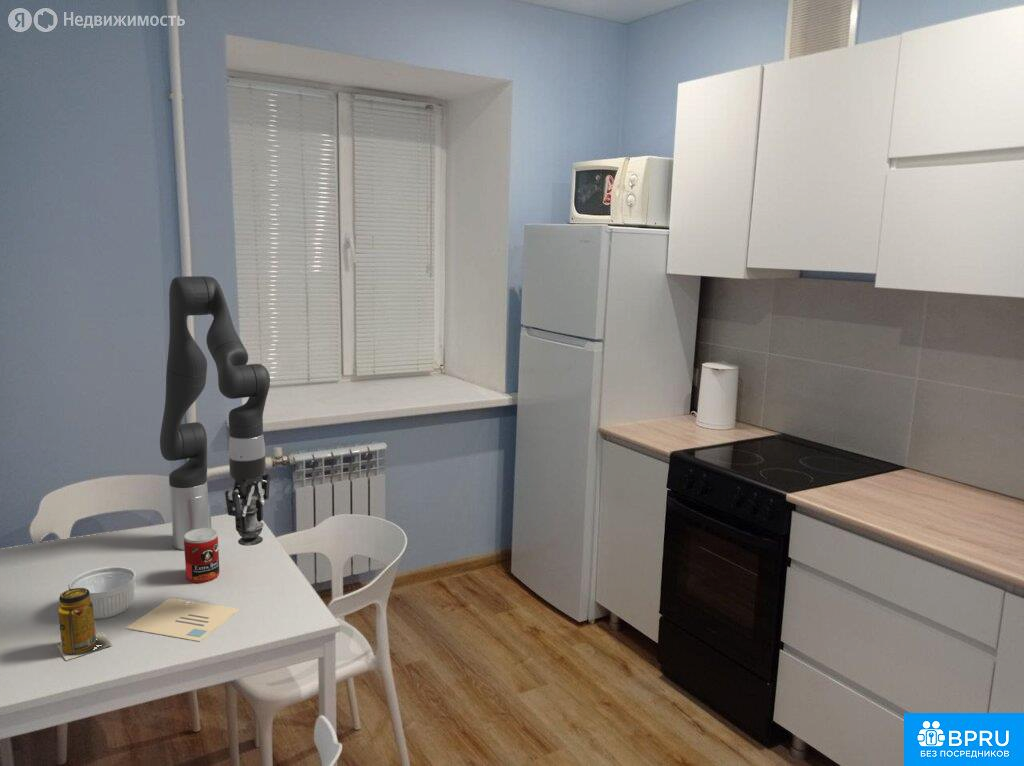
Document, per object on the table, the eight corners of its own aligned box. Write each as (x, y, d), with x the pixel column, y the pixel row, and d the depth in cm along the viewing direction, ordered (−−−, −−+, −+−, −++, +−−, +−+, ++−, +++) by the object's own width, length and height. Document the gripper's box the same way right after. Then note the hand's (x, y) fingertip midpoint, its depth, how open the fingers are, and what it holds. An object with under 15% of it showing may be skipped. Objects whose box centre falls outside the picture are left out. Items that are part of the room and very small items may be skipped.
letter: (170, 598, 173) (170, 597, 173) (239, 609, 169) (239, 608, 169) (125, 628, 160) (125, 627, 160) (199, 641, 156) (199, 640, 156)
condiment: (56, 646, 153) (50, 591, 150) (102, 632, 158) (97, 579, 156) (65, 661, 147) (60, 605, 145) (112, 646, 153) (108, 592, 151)
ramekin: (146, 609, 168) (144, 580, 167) (80, 629, 159) (78, 599, 158) (127, 588, 178) (124, 561, 176) (64, 606, 169) (61, 577, 167)
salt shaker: (255, 547, 166) (253, 496, 164) (231, 544, 167) (229, 493, 165) (269, 537, 172) (267, 487, 169) (245, 534, 173) (243, 484, 171)
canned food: (192, 586, 179) (190, 543, 177) (181, 574, 185) (178, 532, 183) (224, 577, 184) (222, 535, 182) (212, 566, 190) (210, 525, 188)
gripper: (243, 465, 158) (246, 540, 161) (279, 447, 172) (281, 516, 175) (211, 461, 160) (215, 536, 163) (250, 443, 173) (253, 512, 177)
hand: (249, 525), depth 169 cm, fingers closed on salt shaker, 6 cm apart
